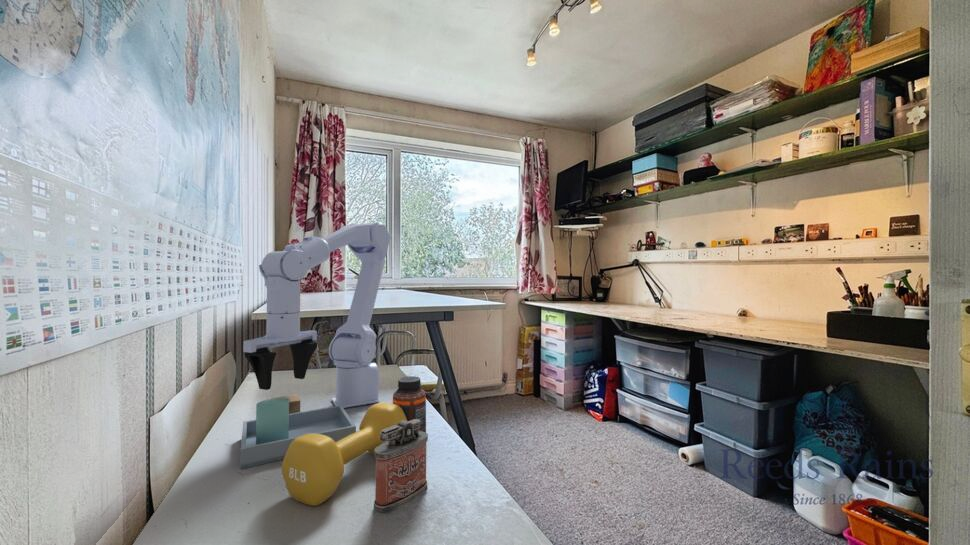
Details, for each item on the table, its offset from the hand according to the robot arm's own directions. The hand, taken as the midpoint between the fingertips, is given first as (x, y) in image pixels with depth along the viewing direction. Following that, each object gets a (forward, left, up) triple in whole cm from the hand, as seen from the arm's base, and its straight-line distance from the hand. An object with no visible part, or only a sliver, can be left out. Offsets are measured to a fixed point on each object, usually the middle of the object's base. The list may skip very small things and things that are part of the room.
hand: (283, 383), depth 71 cm
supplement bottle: (-19, +17, -10) cm, 27 cm away
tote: (-2, +6, -9) cm, 11 cm away
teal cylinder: (+2, +6, -9) cm, 11 cm away
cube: (-1, -5, -9) cm, 10 cm away
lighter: (-12, +33, -10) cm, 36 cm away
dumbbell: (-8, +23, -10) cm, 26 cm away
